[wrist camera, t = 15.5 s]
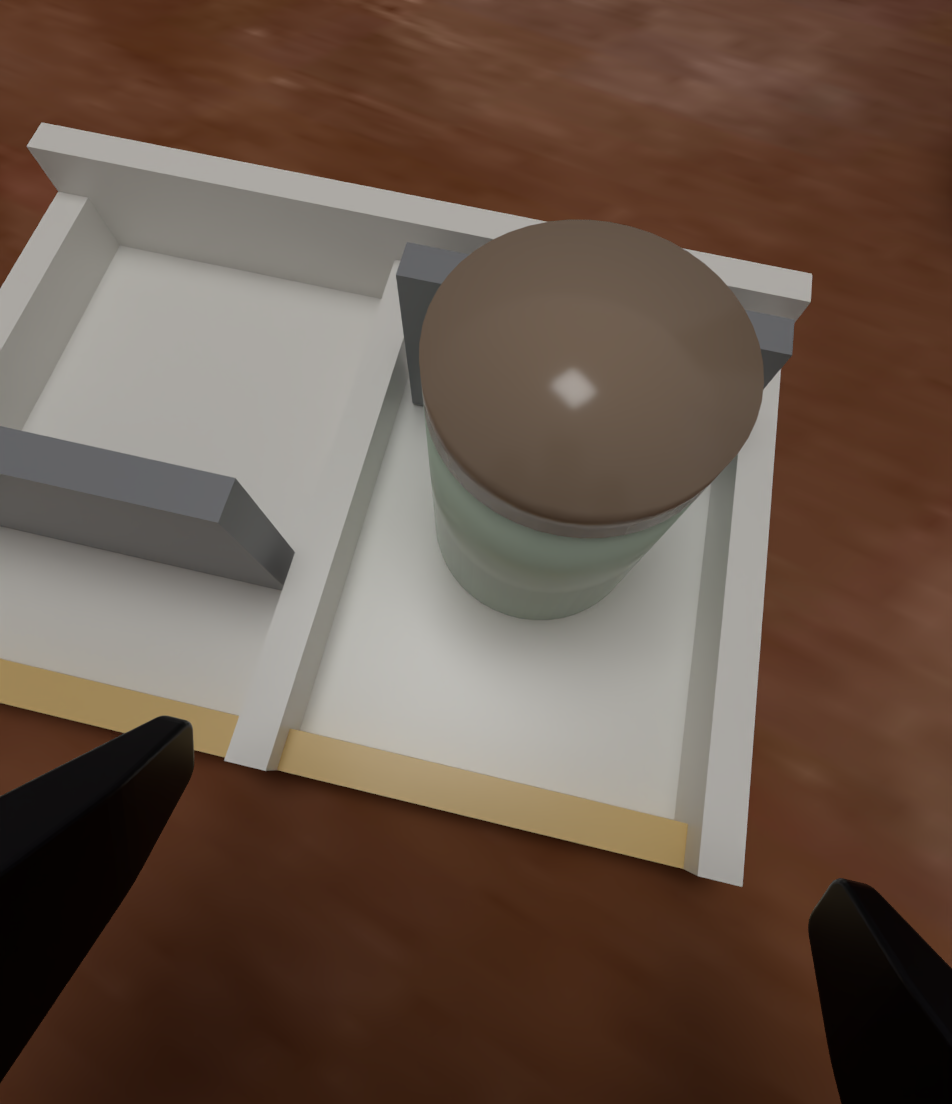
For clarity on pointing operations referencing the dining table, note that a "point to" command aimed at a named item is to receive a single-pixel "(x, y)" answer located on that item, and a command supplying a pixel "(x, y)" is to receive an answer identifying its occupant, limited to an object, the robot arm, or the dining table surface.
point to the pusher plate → (432, 265)
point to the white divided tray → (336, 520)
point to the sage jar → (577, 407)
